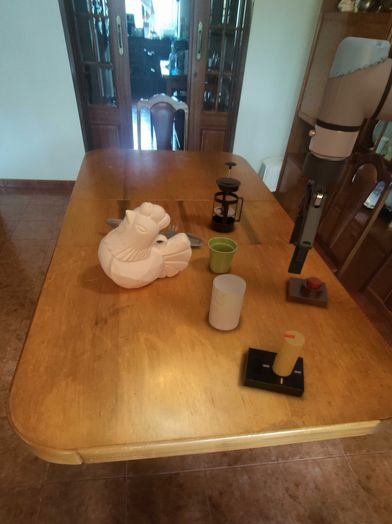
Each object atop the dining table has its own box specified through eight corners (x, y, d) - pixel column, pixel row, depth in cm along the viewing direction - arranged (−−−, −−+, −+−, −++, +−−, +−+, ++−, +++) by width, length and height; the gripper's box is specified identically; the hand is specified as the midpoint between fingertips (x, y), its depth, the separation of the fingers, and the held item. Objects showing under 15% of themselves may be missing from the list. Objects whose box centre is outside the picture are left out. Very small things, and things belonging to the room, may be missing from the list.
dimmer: (300, 364, 77) (303, 357, 75) (301, 397, 70) (304, 390, 68) (247, 354, 78) (249, 346, 76) (242, 385, 71) (245, 378, 69)
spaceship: (109, 208, 112) (102, 208, 104) (206, 230, 113) (205, 231, 106) (107, 231, 115) (100, 233, 108) (201, 252, 116) (200, 255, 109)
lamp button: (318, 283, 96) (320, 278, 94) (319, 289, 93) (321, 284, 92) (306, 281, 96) (308, 276, 95) (307, 287, 93) (309, 282, 92)
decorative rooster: (84, 275, 85) (135, 212, 69) (94, 237, 93) (141, 173, 78) (160, 314, 99) (216, 269, 83) (162, 277, 107) (213, 231, 92)
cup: (207, 310, 89) (211, 273, 80) (235, 310, 90) (243, 274, 81) (210, 330, 83) (215, 293, 74) (240, 330, 84) (249, 293, 75)
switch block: (322, 288, 100) (327, 277, 97) (325, 307, 93) (330, 296, 90) (288, 282, 101) (291, 271, 98) (288, 301, 94) (291, 290, 91)
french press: (209, 232, 121) (215, 165, 105) (208, 221, 128) (214, 157, 111) (239, 234, 122) (251, 168, 105) (237, 223, 128) (247, 159, 112)
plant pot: (237, 266, 106) (242, 242, 100) (227, 280, 100) (231, 255, 93) (211, 258, 108) (214, 234, 102) (200, 271, 102) (202, 246, 96)
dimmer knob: (291, 363, 73) (305, 331, 66) (291, 378, 70) (306, 346, 63) (272, 360, 74) (284, 327, 66) (271, 374, 71) (284, 341, 63)
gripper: (306, 135, 67) (280, 231, 83) (308, 172, 50) (275, 283, 66) (342, 140, 67) (309, 236, 82) (356, 179, 50) (311, 290, 65)
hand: (294, 257), depth 74 cm, fingers open, 13 cm apart
